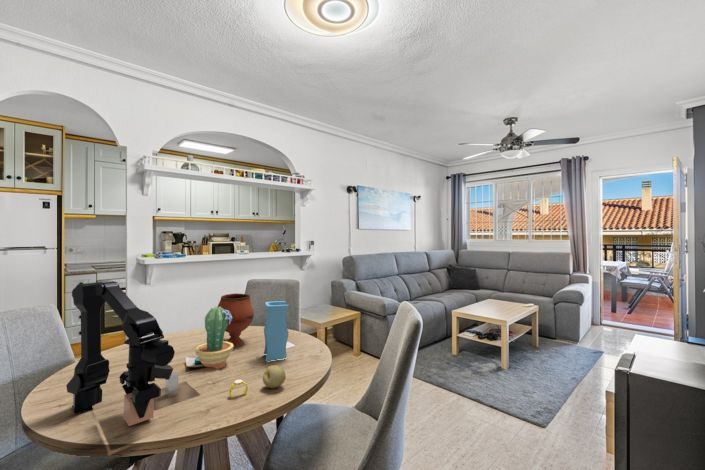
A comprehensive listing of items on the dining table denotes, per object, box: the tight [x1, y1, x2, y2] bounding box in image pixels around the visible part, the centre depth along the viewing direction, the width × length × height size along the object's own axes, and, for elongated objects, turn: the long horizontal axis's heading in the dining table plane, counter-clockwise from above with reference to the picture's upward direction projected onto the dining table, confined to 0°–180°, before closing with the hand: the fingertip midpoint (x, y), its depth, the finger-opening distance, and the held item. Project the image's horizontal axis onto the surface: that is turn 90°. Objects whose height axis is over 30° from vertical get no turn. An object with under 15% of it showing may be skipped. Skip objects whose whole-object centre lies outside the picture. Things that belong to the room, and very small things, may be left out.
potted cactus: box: [195, 306, 234, 370], centre depth 136 cm, size 15×15×25 cm
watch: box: [228, 379, 249, 399], centre depth 109 cm, size 6×3×6 cm, turn 124°
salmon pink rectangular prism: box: [123, 393, 154, 427], centre depth 93 cm, size 6×6×7 cm
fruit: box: [262, 365, 287, 389], centre depth 117 cm, size 8×8×8 cm
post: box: [164, 371, 179, 398], centre depth 108 cm, size 3×3×7 cm
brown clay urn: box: [216, 292, 255, 348], centre depth 164 cm, size 19×19×25 cm
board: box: [153, 381, 201, 412], centre depth 108 cm, size 14×14×1 cm
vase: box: [263, 300, 290, 361], centre depth 147 cm, size 10×10×25 cm
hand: (138, 413), depth 93 cm, fingers closed on salmon pink rectangular prism, 6 cm apart
